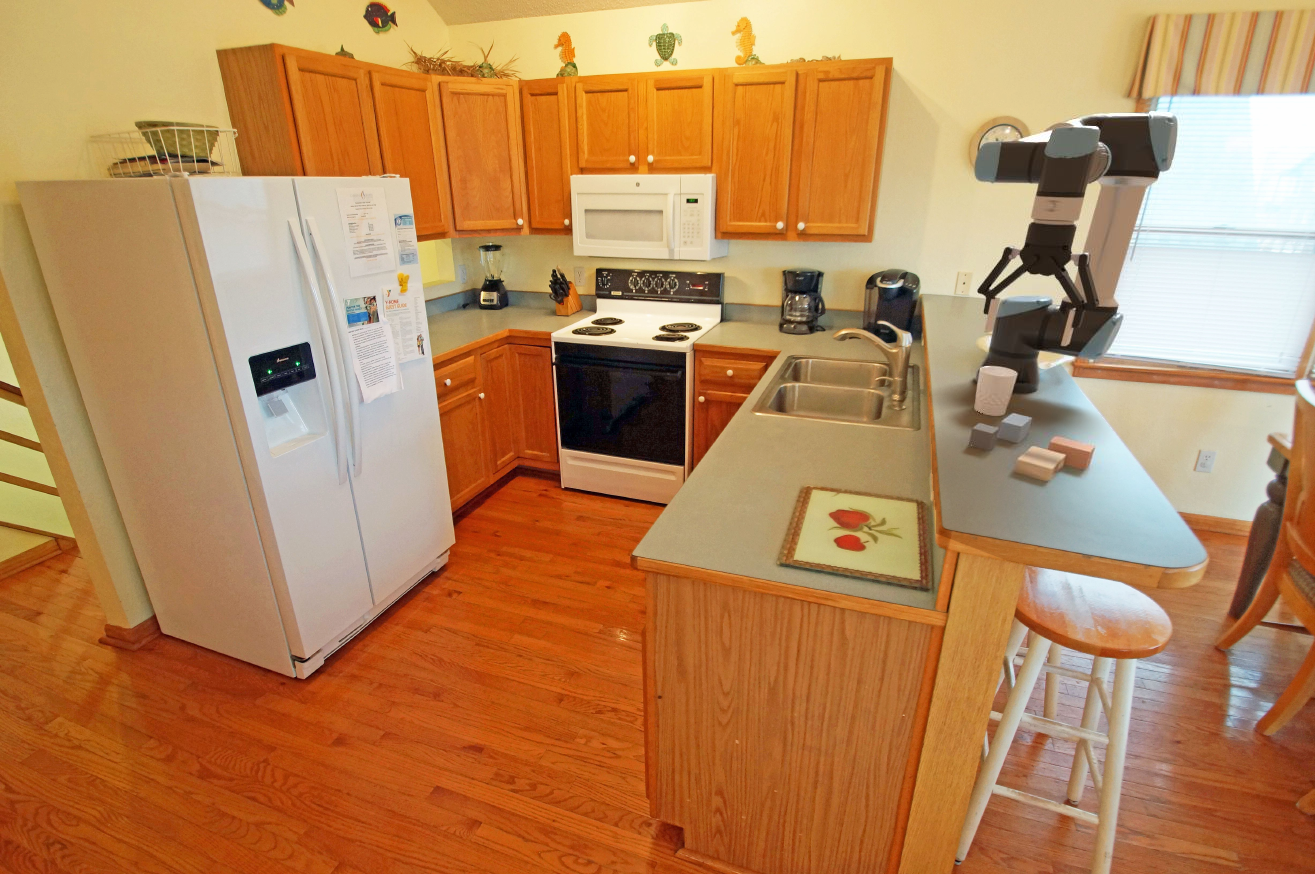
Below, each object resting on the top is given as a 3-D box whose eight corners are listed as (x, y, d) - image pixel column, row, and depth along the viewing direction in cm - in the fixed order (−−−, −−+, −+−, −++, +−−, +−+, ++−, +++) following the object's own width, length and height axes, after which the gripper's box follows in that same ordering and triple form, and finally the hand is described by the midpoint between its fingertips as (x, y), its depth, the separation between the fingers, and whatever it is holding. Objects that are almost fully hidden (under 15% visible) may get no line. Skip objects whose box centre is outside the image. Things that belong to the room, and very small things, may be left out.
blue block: (1008, 429, 144) (1012, 412, 142) (1027, 434, 141) (1032, 417, 139) (997, 438, 139) (1001, 421, 137) (1017, 443, 136) (1021, 426, 135)
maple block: (1029, 459, 130) (1032, 445, 129) (1062, 468, 126) (1066, 454, 125) (1013, 473, 124) (1017, 459, 123) (1047, 483, 120) (1051, 469, 119)
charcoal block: (975, 440, 138) (979, 422, 136) (995, 445, 135) (999, 428, 134) (968, 445, 135) (972, 428, 134) (988, 451, 133) (992, 433, 131)
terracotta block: (1044, 459, 129) (1049, 441, 128) (1050, 453, 132) (1055, 435, 130) (1084, 470, 125) (1090, 452, 123) (1089, 464, 127) (1095, 446, 126)
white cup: (1012, 418, 149) (1022, 377, 145) (975, 415, 151) (984, 375, 147) (1002, 406, 156) (1011, 367, 152) (967, 404, 158) (976, 365, 154)
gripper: (973, 218, 121) (952, 329, 129) (1131, 228, 105) (1095, 354, 113) (988, 216, 126) (966, 323, 134) (1140, 225, 110) (1105, 346, 118)
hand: (1025, 337), depth 124 cm, fingers open, 13 cm apart
